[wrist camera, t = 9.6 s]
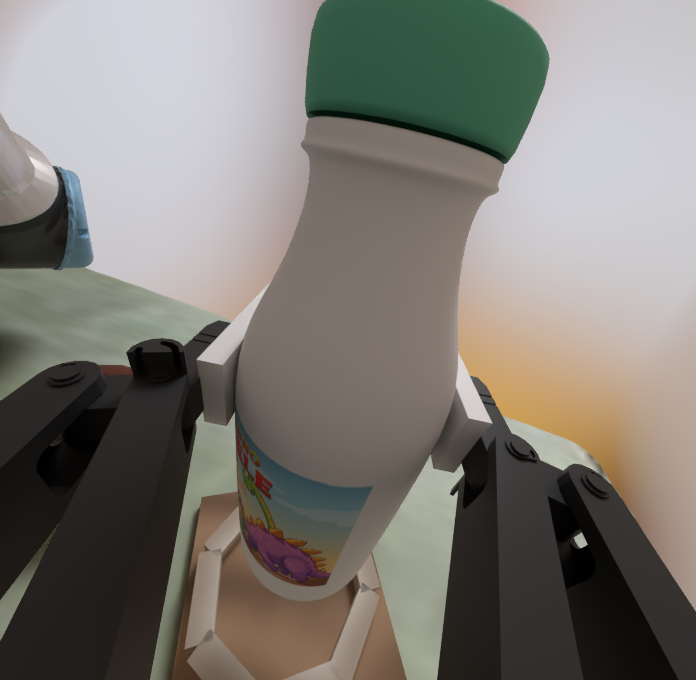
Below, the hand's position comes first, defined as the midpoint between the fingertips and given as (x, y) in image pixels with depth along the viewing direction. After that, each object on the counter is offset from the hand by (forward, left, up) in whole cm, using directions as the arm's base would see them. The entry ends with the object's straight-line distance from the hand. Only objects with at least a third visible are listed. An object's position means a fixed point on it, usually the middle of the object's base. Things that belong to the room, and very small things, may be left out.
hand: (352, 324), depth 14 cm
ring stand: (+4, -2, -23) cm, 23 cm away
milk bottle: (+4, -1, -11) cm, 12 cm away
